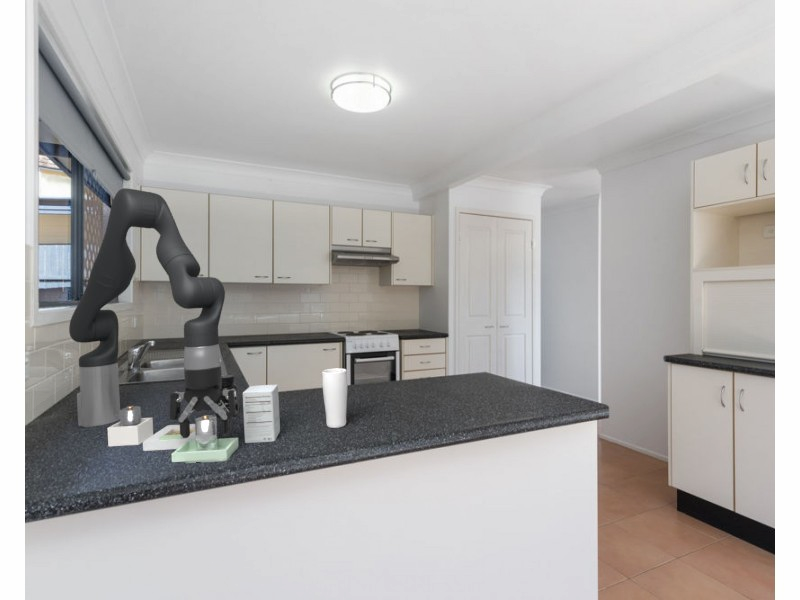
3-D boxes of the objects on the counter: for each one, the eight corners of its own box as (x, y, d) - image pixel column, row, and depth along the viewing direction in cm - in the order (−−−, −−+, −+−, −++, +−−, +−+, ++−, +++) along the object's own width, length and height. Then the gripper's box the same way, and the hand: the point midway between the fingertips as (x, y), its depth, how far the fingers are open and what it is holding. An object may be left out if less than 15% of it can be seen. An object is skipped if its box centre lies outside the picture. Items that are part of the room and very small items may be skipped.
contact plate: (163, 443, 100) (163, 439, 100) (174, 434, 106) (174, 431, 106) (188, 441, 100) (187, 437, 100) (198, 433, 106) (197, 429, 106)
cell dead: (117, 444, 102) (115, 409, 102) (127, 437, 106) (126, 404, 106) (135, 442, 102) (134, 408, 102) (145, 436, 106) (143, 403, 106)
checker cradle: (143, 452, 97) (142, 439, 97) (168, 435, 109) (167, 423, 109) (196, 449, 98) (195, 436, 97) (215, 432, 110) (214, 420, 109)
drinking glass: (328, 431, 107) (326, 374, 107) (320, 424, 113) (318, 370, 113) (352, 426, 110) (350, 371, 110) (344, 420, 116) (342, 367, 116)
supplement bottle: (230, 419, 120) (228, 378, 120) (209, 419, 122) (207, 378, 121) (243, 412, 127) (242, 374, 127) (223, 412, 128) (222, 373, 128)
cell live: (193, 457, 91) (191, 419, 91) (201, 450, 96) (199, 413, 96) (213, 456, 92) (211, 418, 92) (220, 448, 96) (219, 412, 96)
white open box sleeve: (108, 448, 100) (107, 427, 100) (125, 438, 107) (124, 419, 107) (138, 446, 101) (137, 426, 101) (153, 436, 108) (152, 417, 108)
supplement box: (252, 433, 108) (249, 385, 108) (280, 431, 109) (279, 383, 108) (243, 443, 101) (241, 392, 100) (274, 441, 101) (272, 390, 101)
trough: (172, 464, 89) (171, 453, 89) (188, 450, 97) (187, 440, 97) (226, 460, 90) (226, 450, 90) (238, 447, 98) (238, 437, 98)
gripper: (161, 369, 89) (165, 444, 89) (229, 366, 90) (232, 440, 91) (177, 363, 97) (181, 432, 97) (240, 360, 98) (243, 428, 98)
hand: (205, 436), depth 94 cm, fingers open, 8 cm apart
